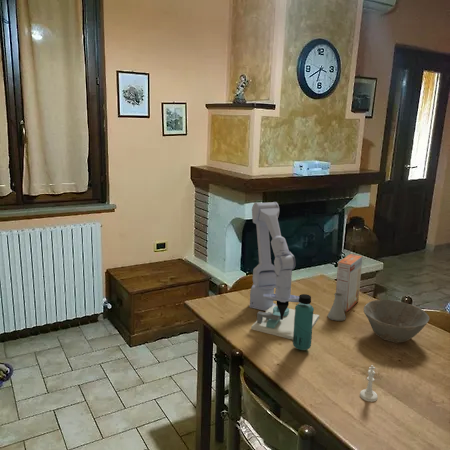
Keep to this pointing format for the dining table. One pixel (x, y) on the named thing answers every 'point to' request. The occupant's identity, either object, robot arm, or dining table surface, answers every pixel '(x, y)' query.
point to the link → (273, 323)
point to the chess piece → (369, 387)
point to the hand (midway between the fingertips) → (281, 318)
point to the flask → (337, 309)
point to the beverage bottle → (303, 323)
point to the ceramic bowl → (395, 319)
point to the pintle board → (282, 327)
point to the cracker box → (349, 280)
